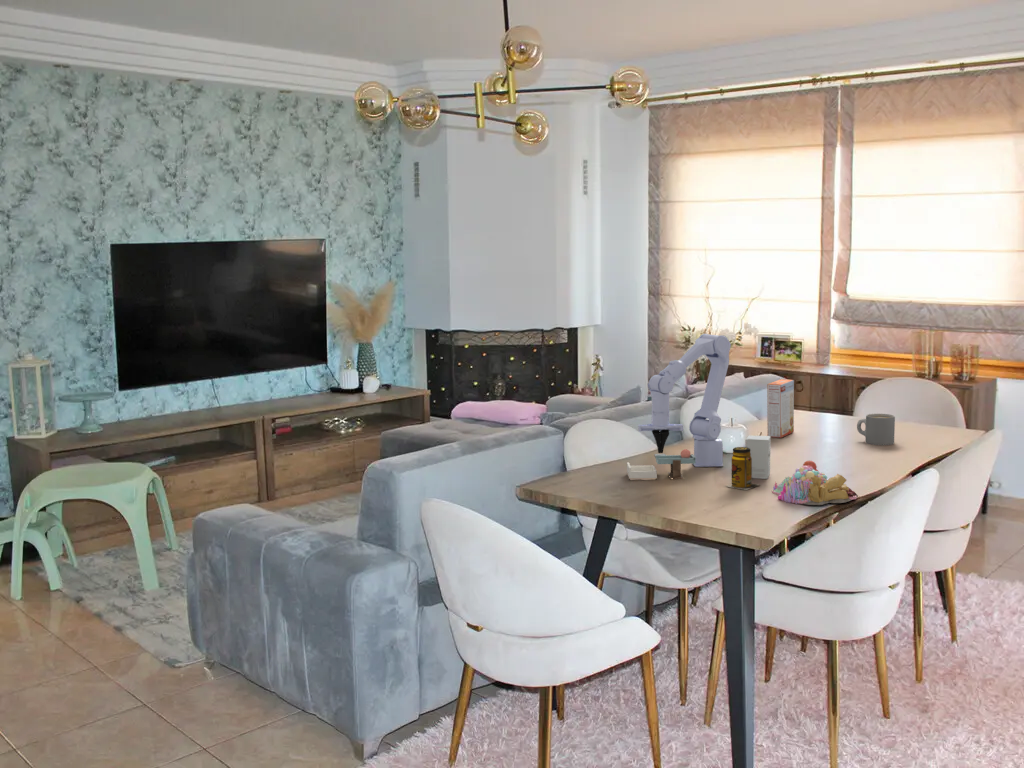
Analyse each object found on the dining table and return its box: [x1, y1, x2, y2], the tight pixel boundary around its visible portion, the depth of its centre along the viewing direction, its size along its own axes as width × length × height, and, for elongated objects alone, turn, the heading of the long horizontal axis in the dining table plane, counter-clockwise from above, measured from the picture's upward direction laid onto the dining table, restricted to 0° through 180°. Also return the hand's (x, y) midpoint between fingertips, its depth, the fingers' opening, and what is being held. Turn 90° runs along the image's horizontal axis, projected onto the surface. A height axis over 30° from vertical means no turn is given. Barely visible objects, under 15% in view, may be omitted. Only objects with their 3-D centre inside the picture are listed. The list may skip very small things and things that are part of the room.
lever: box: [653, 453, 696, 465], centre depth 322 cm, size 12×12×2 cm
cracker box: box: [766, 378, 795, 439], centre depth 384 cm, size 14×6×21 cm, turn 144°
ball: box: [680, 448, 692, 458], centre depth 319 cm, size 3×3×3 cm
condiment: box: [726, 446, 762, 491], centre depth 304 cm, size 7×8×12 cm
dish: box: [626, 461, 658, 479], centre depth 320 cm, size 9×9×4 cm
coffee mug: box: [856, 413, 896, 446], centre depth 366 cm, size 13×10×10 cm
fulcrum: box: [667, 460, 685, 480], centre depth 319 cm, size 4×8×6 cm, turn 178°
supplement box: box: [744, 435, 772, 480], centre depth 317 cm, size 7×7×13 cm
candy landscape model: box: [771, 460, 859, 506], centre depth 291 cm, size 25×24×9 cm
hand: (660, 452), depth 326 cm, fingers closed
